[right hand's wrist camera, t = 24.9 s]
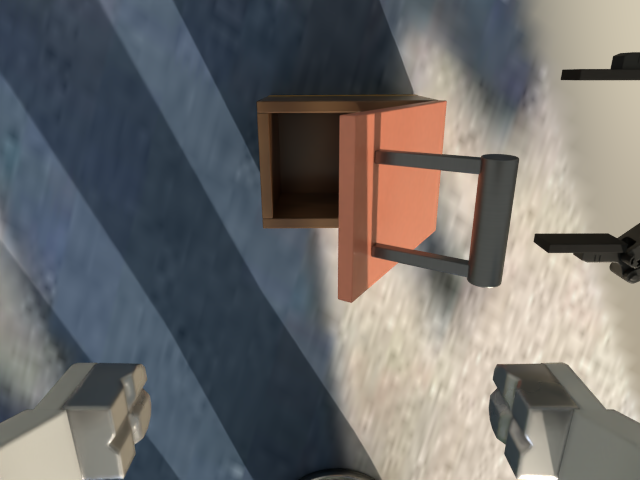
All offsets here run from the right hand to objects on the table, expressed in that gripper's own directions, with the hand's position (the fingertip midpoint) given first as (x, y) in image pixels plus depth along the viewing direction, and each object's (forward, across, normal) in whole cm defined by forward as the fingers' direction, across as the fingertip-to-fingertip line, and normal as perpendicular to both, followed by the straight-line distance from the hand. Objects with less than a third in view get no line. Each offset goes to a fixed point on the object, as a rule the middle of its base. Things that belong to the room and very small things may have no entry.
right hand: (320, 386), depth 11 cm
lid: (+20, +5, 0) cm, 21 cm away
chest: (+36, +2, 0) cm, 36 cm away
